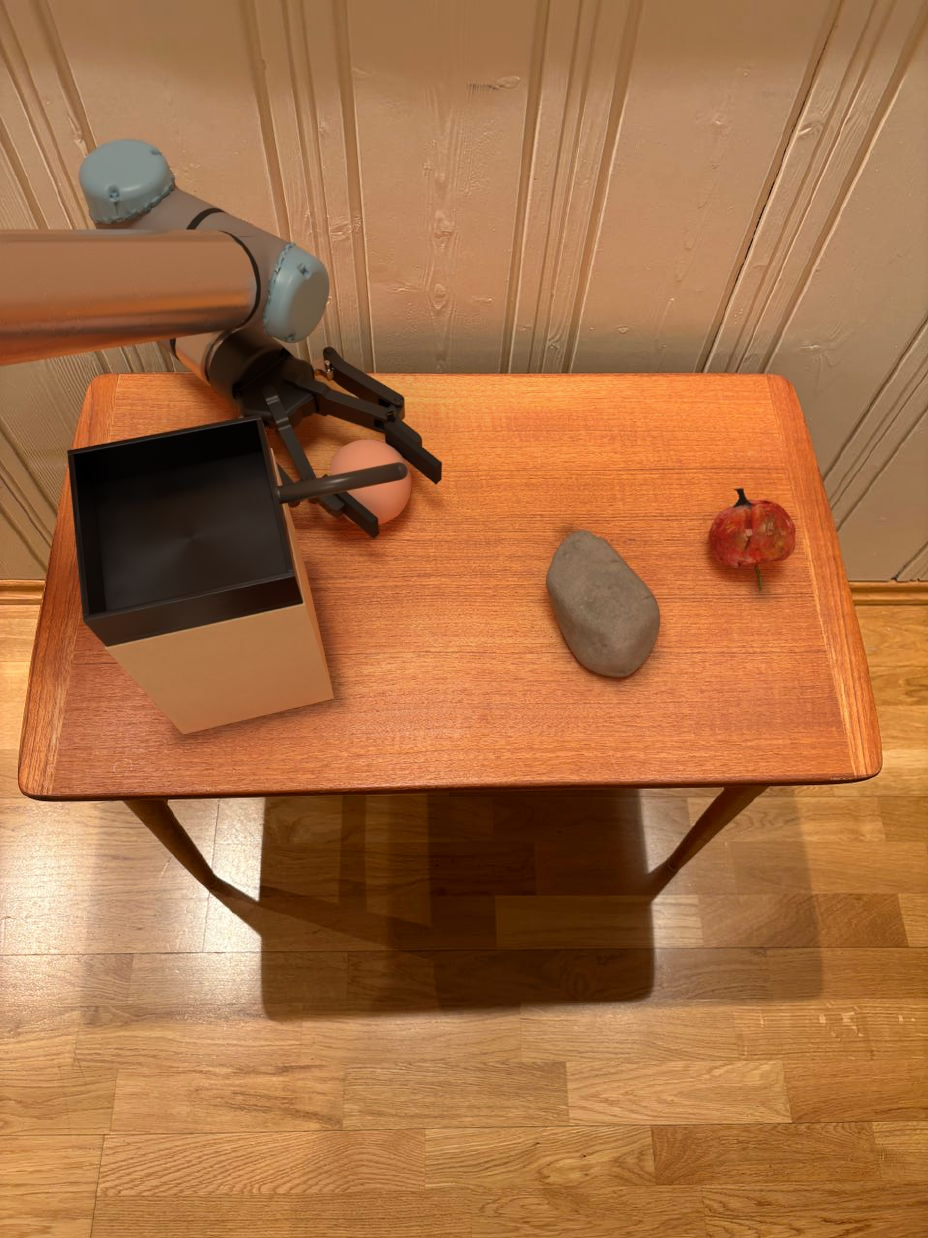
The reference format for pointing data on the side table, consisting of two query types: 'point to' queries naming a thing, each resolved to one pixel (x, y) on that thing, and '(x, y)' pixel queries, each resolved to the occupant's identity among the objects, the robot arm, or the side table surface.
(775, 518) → the pomegranate
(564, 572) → the stone
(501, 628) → the side table surface
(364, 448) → the toy ball
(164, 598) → the pan
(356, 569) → the side table surface
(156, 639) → the stand
